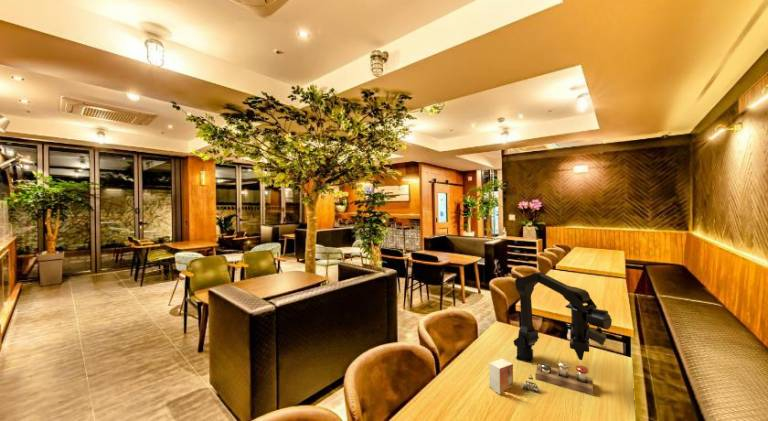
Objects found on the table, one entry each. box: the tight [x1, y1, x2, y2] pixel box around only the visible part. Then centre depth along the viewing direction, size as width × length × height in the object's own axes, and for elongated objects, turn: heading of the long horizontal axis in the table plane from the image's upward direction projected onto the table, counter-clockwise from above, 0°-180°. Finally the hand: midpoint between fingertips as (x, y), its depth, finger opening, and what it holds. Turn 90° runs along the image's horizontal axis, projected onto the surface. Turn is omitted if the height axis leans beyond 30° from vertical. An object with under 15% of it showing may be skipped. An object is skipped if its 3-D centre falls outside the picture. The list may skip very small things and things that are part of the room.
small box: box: [488, 358, 514, 395], centre depth 122 cm, size 8×6×10 cm
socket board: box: [534, 363, 594, 396], centre depth 124 cm, size 20×9×4 cm, turn 55°
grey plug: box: [540, 362, 552, 374], centre depth 128 cm, size 4×4×6 cm
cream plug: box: [557, 360, 570, 379], centre depth 124 cm, size 4×4×6 cm
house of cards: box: [521, 374, 541, 394], centre depth 121 cm, size 9×9×8 cm
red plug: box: [575, 365, 589, 384], centre depth 120 cm, size 4×4×6 cm
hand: (580, 359), depth 120 cm, fingers closed
